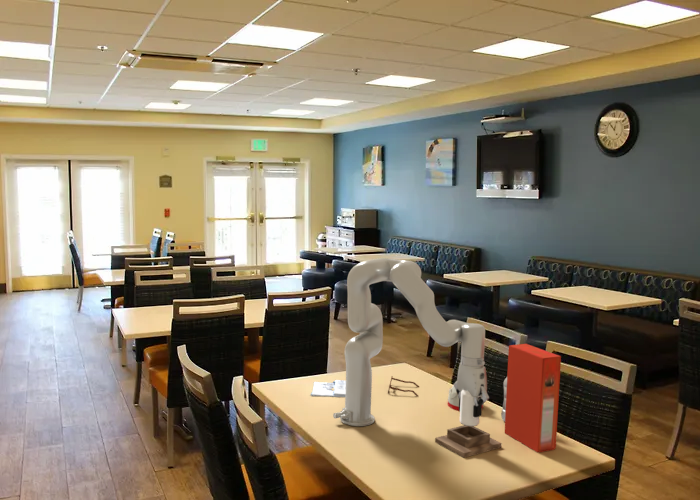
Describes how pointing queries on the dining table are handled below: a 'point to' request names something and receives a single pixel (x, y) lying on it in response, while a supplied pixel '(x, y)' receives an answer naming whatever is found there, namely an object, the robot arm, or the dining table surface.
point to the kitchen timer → (453, 399)
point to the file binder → (532, 396)
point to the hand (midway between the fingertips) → (469, 412)
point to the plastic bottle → (504, 400)
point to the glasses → (401, 389)
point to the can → (467, 409)
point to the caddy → (467, 441)
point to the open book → (329, 389)
